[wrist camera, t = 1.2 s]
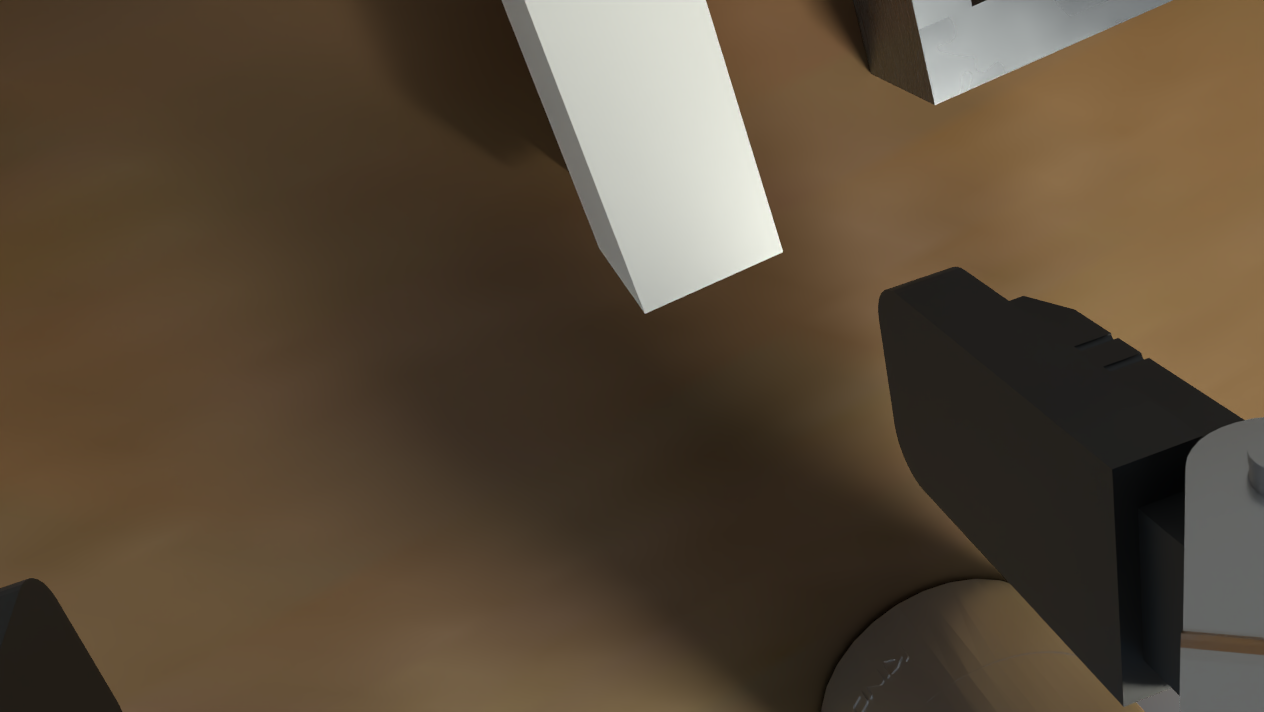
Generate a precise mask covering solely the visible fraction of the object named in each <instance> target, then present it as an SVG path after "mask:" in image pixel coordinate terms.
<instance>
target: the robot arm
mask: <svg viewBox="0 0 1264 712" xmlns="http://www.w3.org/2000/svg"><path fill="white" fill-rule="evenodd" d="M878 314H879V322H880V329H881V336H882V342H883V349H884V356H885V362H886V369H887V376H888V382H889V389H890V396H891V402H892V409H893V416H894V422H895V428H896V433H897V437H898V441H899V444H900V447H901V450H902V453H903V455H904V458H905V460H906V462H907V464H908V466H909V468H910V470H911V472H912V474H913V476H914V477H915V479H916V481H917V482H918V483H919V485H920V486H921V487H922V489H923V490H924V491H925V492H926V493H927V494H928V495H929V496H930V497H931V499H932V500H933V501H934V502H935V503H936V504H937V505H938V506H939V507H940V508H941V509H942V510H943V512H944V513H945V514H946V515H947V516H948V517H949V518H950V519H951V520H952V521H953V522H954V524H955V525H956V526H957V527H958V528H959V529H960V530H961V531H962V532H963V533H964V534H965V535H966V537H967V538H968V539H969V540H970V541H971V542H972V543H973V544H974V545H975V546H976V547H977V548H978V550H979V551H980V552H981V553H982V554H983V555H984V556H985V557H986V558H987V559H988V560H989V561H990V563H991V564H992V565H993V566H994V567H995V568H996V569H997V570H998V571H999V572H1000V573H1001V575H1002V576H1003V577H1004V578H1005V579H1006V580H1007V581H1008V582H1009V583H1007V582H1004V581H1001V580H988V579H970V580H963V581H956V582H950V583H946V584H943V585H940V586H937V587H934V588H931V589H928V590H925V591H922V592H920V593H918V594H917V595H915V596H913V597H911V598H909V599H907V600H905V601H903V602H901V603H899V604H897V605H896V606H894V607H893V608H892V609H890V610H889V611H888V612H886V613H885V614H884V615H882V616H881V617H879V618H878V619H877V620H875V621H874V622H873V623H872V624H871V625H870V626H869V627H868V628H867V629H866V630H865V631H864V632H863V633H862V634H861V635H860V636H859V637H858V638H857V639H856V640H855V641H854V642H853V643H852V645H851V646H850V647H849V649H848V650H847V652H846V653H845V654H844V656H843V657H842V659H841V660H840V661H839V663H838V664H837V666H836V668H835V670H834V672H833V675H832V677H831V679H830V681H829V683H828V685H827V687H826V692H825V696H824V700H823V704H822V709H821V712H1145V711H1144V710H1143V709H1142V708H1141V707H1140V706H1139V705H1138V704H1137V703H1136V702H1138V701H1140V700H1143V699H1145V698H1148V697H1150V696H1153V695H1155V694H1158V693H1160V692H1163V691H1165V690H1168V689H1170V688H1172V689H1173V690H1174V691H1176V692H1177V694H1178V695H1179V696H1180V703H1179V704H1180V705H1179V712H1264V417H1263V418H1254V419H1249V420H1243V419H1242V418H1240V417H1239V416H1237V415H1236V414H1234V413H1233V412H1231V411H1230V410H1228V409H1227V408H1225V407H1223V406H1222V405H1220V404H1219V403H1217V402H1216V401H1214V400H1213V399H1211V398H1210V397H1208V396H1207V395H1205V394H1203V393H1202V392H1200V391H1199V390H1197V389H1196V388H1194V387H1193V386H1191V385H1190V384H1188V383H1187V382H1185V381H1183V380H1182V379H1180V378H1179V377H1177V376H1176V375H1174V374H1173V373H1171V372H1170V371H1168V370H1167V369H1165V368H1164V367H1162V366H1160V365H1159V364H1157V363H1156V362H1154V361H1153V360H1151V359H1150V358H1148V359H1145V360H1144V359H1143V358H1142V355H1141V353H1140V352H1139V351H1137V350H1136V349H1134V348H1133V347H1131V346H1130V345H1128V344H1127V343H1125V342H1124V341H1122V340H1120V339H1119V338H1117V339H1114V340H1113V338H1112V336H1111V333H1110V332H1108V331H1107V330H1105V329H1104V328H1102V327H1100V326H1099V325H1097V324H1096V323H1094V322H1093V321H1091V320H1090V319H1088V318H1087V317H1085V316H1084V315H1082V314H1081V313H1079V312H1077V311H1076V310H1074V309H1070V308H1067V307H1063V306H1059V305H1055V304H1052V303H1048V302H1044V301H1040V300H1037V299H1033V298H1029V297H1026V296H1022V297H1019V298H1016V299H1014V300H1011V301H1008V300H1007V299H1005V298H1004V297H1002V296H1001V295H999V294H998V293H997V292H995V291H994V290H992V289H991V288H989V287H988V286H987V285H985V284H984V283H982V282H981V281H979V280H978V279H977V278H975V277H974V276H972V275H971V274H969V273H968V272H967V271H965V270H963V269H962V268H959V267H952V268H949V269H946V270H943V271H940V272H937V273H934V274H931V275H928V276H925V277H922V278H919V279H916V280H913V281H910V282H907V283H905V284H902V285H899V286H896V287H893V288H890V289H887V290H884V291H883V292H882V293H881V295H880V298H879V304H878ZM0 712H122V710H121V708H120V706H119V704H118V702H117V700H116V699H115V697H114V695H113V693H112V692H111V690H110V688H109V687H108V685H107V683H106V682H105V680H104V678H103V677H102V675H101V673H100V672H99V670H98V668H97V666H96V665H95V663H94V661H93V660H92V658H91V656H90V655H89V653H88V651H87V650H86V648H85V646H84V644H83V643H82V641H81V639H80V638H79V636H78V634H77V633H76V631H75V629H74V628H73V626H72V624H71V623H70V621H69V619H68V617H67V616H66V614H65V612H64V611H63V609H62V607H61V606H60V604H59V602H58V601H57V599H56V597H55V596H54V594H53V593H52V592H51V591H50V589H49V588H48V587H47V586H46V585H45V584H44V583H43V582H41V581H39V580H38V579H34V578H29V579H26V580H23V581H20V582H17V583H14V584H12V585H9V586H6V587H3V588H0Z"/></svg>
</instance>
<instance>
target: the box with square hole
mask: <svg viewBox="0 0 1264 712" xmlns="http://www.w3.org/2000/svg"><path fill="white" fill-rule="evenodd" d="M1169 1H1172V0H853V2H854V6H855V10H856V14H857V18H858V22H859V26H860V30H861V34H862V38H863V42H864V47H865V51H866V55H867V59H868V63H869V67H870V71H871V74H873V75H875V76H877V77H879V78H881V79H883V80H885V81H887V82H889V83H891V84H893V85H895V86H897V87H899V88H901V89H903V90H905V91H907V92H909V93H911V94H913V95H916V96H918V97H920V98H922V99H924V100H926V101H928V102H930V103H932V104H934V105H936V104H938V103H941V102H943V101H945V100H947V99H950V98H952V97H954V96H957V95H959V94H961V93H963V92H966V91H968V90H970V89H972V88H975V87H977V86H979V85H981V84H984V83H986V82H988V81H991V80H993V79H995V78H997V77H1000V76H1002V75H1004V74H1006V73H1009V72H1011V71H1013V70H1015V69H1018V68H1020V67H1022V66H1024V65H1027V64H1029V63H1031V62H1034V61H1036V60H1038V59H1040V58H1043V57H1045V56H1047V55H1049V54H1052V53H1054V52H1056V51H1058V50H1061V49H1063V48H1065V47H1068V46H1070V45H1072V44H1074V43H1077V42H1079V41H1081V40H1083V39H1086V38H1088V37H1090V36H1092V35H1095V34H1097V33H1099V32H1101V31H1104V30H1106V29H1108V28H1111V27H1113V26H1115V25H1117V24H1120V23H1122V22H1124V21H1126V20H1129V19H1131V18H1133V17H1135V16H1138V15H1140V14H1142V13H1145V12H1147V11H1149V10H1151V9H1154V8H1156V7H1158V6H1160V5H1163V4H1165V3H1167V2H1169Z"/></svg>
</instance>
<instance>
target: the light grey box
mask: <svg viewBox="0 0 1264 712" xmlns="http://www.w3.org/2000/svg"><path fill="white" fill-rule="evenodd" d="M502 3H503V5H504V8H505V11H506V13H507V16H508V18H509V21H510V23H511V26H512V28H513V31H514V33H515V36H516V38H517V41H518V44H519V46H520V49H521V51H522V54H523V56H524V59H525V61H526V64H527V66H528V69H529V71H530V74H531V77H532V79H533V82H534V84H535V87H536V89H537V92H538V94H539V97H540V99H541V102H542V104H543V107H544V110H545V112H546V115H547V117H548V120H549V122H550V125H551V127H552V130H553V132H554V135H555V137H556V140H557V143H558V145H559V148H560V150H561V153H562V155H563V158H564V160H565V163H566V165H567V168H568V170H569V173H570V176H571V178H572V181H573V183H574V186H575V188H576V191H577V193H578V196H579V198H580V201H581V203H582V206H583V209H584V211H585V214H586V216H587V219H588V221H589V224H590V226H591V229H592V231H593V234H594V236H595V239H596V242H597V244H598V247H599V249H600V250H601V252H602V253H603V255H604V256H605V257H606V259H607V260H608V262H609V263H610V265H611V266H612V267H613V269H614V270H615V272H616V273H617V275H618V276H619V277H620V279H621V280H622V282H623V283H624V285H625V286H626V287H627V289H628V290H629V292H630V293H631V295H632V296H633V297H634V299H635V300H636V302H637V303H638V305H639V306H640V307H641V309H642V310H643V312H644V313H645V314H646V313H648V312H650V311H652V310H655V309H657V308H659V307H661V306H664V305H666V304H668V303H670V302H673V301H675V300H677V299H679V298H682V297H684V296H686V295H688V294H690V293H693V292H695V291H697V290H699V289H702V288H704V287H706V286H708V285H711V284H713V283H715V282H717V281H720V280H722V279H724V278H726V277H728V276H731V275H733V274H735V273H737V272H740V271H742V270H744V269H746V268H749V267H751V266H753V265H755V264H758V263H760V262H762V261H764V260H767V259H769V258H771V257H773V256H775V255H778V254H780V253H782V252H783V250H782V247H781V244H780V240H779V237H778V234H777V231H776V227H775V224H774V221H773V218H772V214H771V211H770V208H769V204H768V201H767V198H766V195H765V191H764V188H763V185H762V182H761V178H760V175H759V172H758V169H757V165H756V162H755V159H754V156H753V152H752V149H751V146H750V143H749V139H748V136H747V133H746V130H745V126H744V123H743V120H742V117H741V113H740V110H739V107H738V104H737V100H736V97H735V94H734V91H733V87H732V84H731V81H730V78H729V74H728V71H727V68H726V65H725V61H724V58H723V55H722V51H721V48H720V45H719V42H718V38H717V35H716V32H715V29H714V25H713V22H712V19H711V16H710V12H709V9H708V6H707V3H706V0H502Z"/></svg>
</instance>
